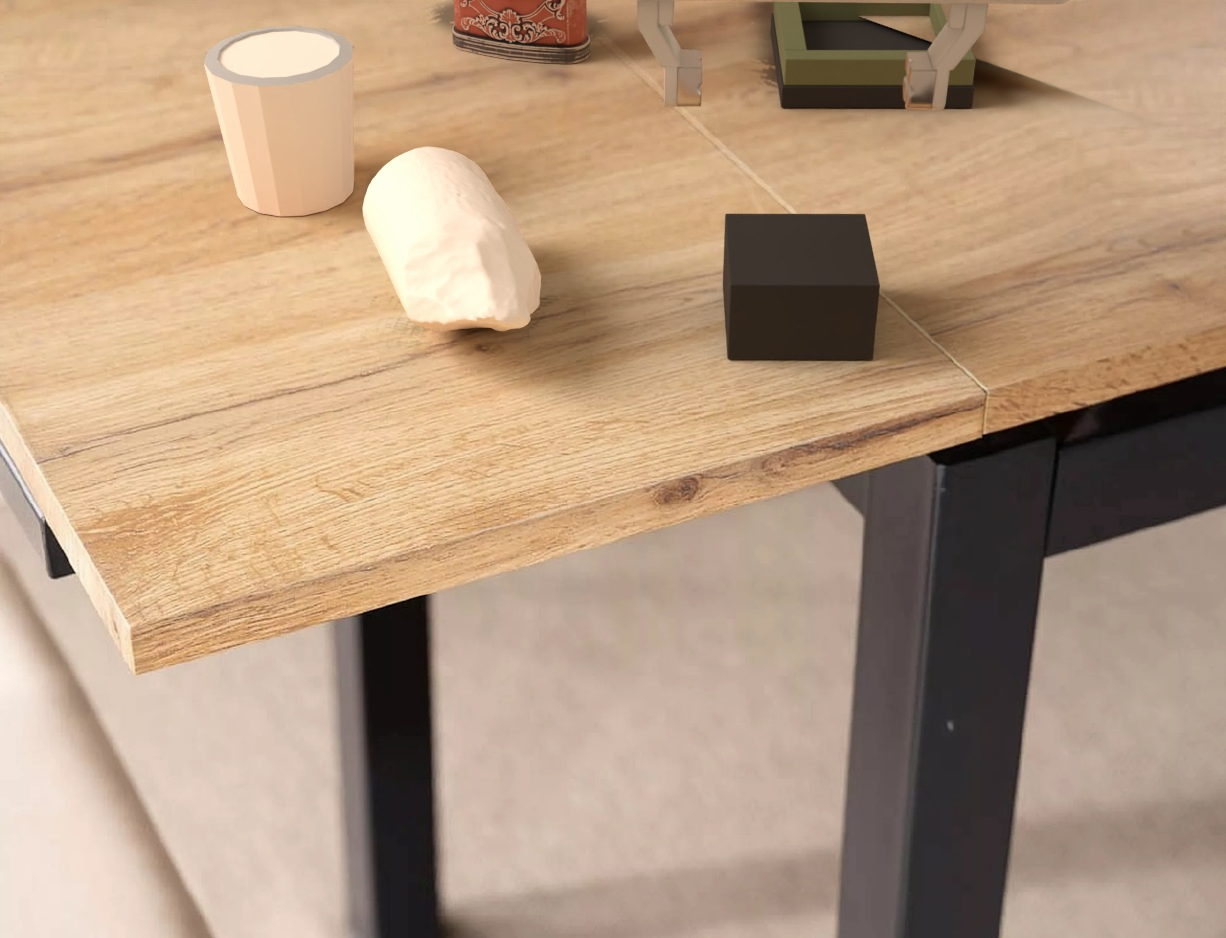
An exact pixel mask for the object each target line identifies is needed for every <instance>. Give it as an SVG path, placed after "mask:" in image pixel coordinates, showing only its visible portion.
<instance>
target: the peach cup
mask: <svg viewBox="0 0 1226 938" xmlns="http://www.w3.org/2000/svg"><path fill="white" fill-rule="evenodd" d="M203 66H204V69H205V74H206V78H207V82H208V84H209V85H208V86H209V89H210V92H211V98H212V101H213V106H214V110H215V113H216V117H217V120H218V124H219V128H220V132H221V136H222V140H223V144H224V148H225V152H226V155H227V156H226V157H227V159H228V163H229V168H230V171H231V175H232V179H233V183H234V187H235V190H236V195H237V197H238V199H239V200H240V202H241V204H243V206H244V207H246V208H248V209H250V210H251V211H255V212H256V213H258V214H263V215H269V216H274V217H302V216H308V215H313V214H316V213H321V212H325V211H328V210H330V209H333V208H334V207H336V206H338V205H340V204H342V203H344V202H345V201H346V200H347V199H348V198H349V197H350V196H351V195H352V194H353V193H354V187H355V110H354V109H355V104H354V103H355V97H354V96H355V93H354V92H355V90H354V85H355V84H354V82H355V80H354V78H355V77H354V74H355V73H354V69H355V67H354V45H353V44H352V43H351V42H350V41H349V40H348V39H347V38H346V37H345V36H344V35H341V34H339V33H336V32H333V31H331V30H328V29H325V28H319V27H313V26H312V27H311V26H305V25H284V26H283V25H281V26H267V27H262V28H257V29H256V28H255V29H252V30H246V31H242V32H240V33H237V34H235V35H232V36H230V37H226V38H224V39H222V40H220V41H218V42H217V43H216V44H215V45H214V46H212V47H211V48H210V49H209V50H207V51H206V54H205V58H204V61H203Z"/></svg>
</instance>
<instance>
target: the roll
mask: <svg viewBox="0 0 1226 938" xmlns="http://www.w3.org/2000/svg"><path fill="white" fill-rule="evenodd" d="M368 184H369V185H368V186H367V190H366V193H365V195H364V198H363V204H362V208H361V209H362V217H363V221H364V226H365V229H366V230H367V232H368V234H369V237H370V238H371V240H372V242H373V244H374V246H375V248H376V250H377V252H378V254H379V256H380V259H381V261H382V263H383V266H384V268H385V269H386V272H387V274H388V276H389V278H390V282H391V283H392V286H393V288H394V291H395V292H396V295H397V297H398V299H399V300H400V303H401V305H402V308H403V309H404V311H405V313H406V315H407V317H408V319H409V320H410V321H412V322H413V323H414V324H415V325H416V326H418V327H421V328H422V329H426V330H430V331H434V332H439V333H445V332H450V331H459V330H463V329H464V330H467V329H469V330H470V329H486V328H488V329H492V330H495V331H498V332H506V331H509V330H515V329H521V328H524V327H526V326H527V325H528V324H529V323H530V322H531V315H532V314H533V313H534V312H535V311H536V310H537V309H539V307H540V304H541V300H540V297H541V290H542V275H541V271H540V268H539V265H538V263H537V261H536V259H535V257H534V254H533V252H532V250H531V248H530V246H529V245H528V243H527V241H526V238H525V237H524V235H523V233H522V231H521V229H520V226H519V223H518V221H517V220H516V218H515V216H514V215H513V213H512V211H511V209H510V208H509V206H508V205H507V203H506V201H505V200H504V198H503V197H502V196H500V194H498V192H497V191H496V188H495V187H494V186H493V184H492V182H491V181H490V179H489V177H488V176H487V175H486V173H485V171H483V169H482V168H481V167H480V165H478V164H477V163H476V162H475V161H473V160H472V159H470V158H469V157H467V156H465V155H464V154H461V153H460V152H457V151H455V150H451V149H447V148H443V147H438V146H437V147H435V146H421V147H415V148H413V149H410V150H407V151H406V152H403V153H401V154H400V155H398V156H396V157H394V158H392V159H391V160H390V161H388V162H387V163H386V164H385V165H384V166H383V167H382V168H381V169H379V170H378V172H377V173H376V175H375V176H374V177H373V178H372V179H371V181H370V183H368Z"/></svg>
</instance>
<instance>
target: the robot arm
mask: <svg viewBox="0 0 1226 938" xmlns="http://www.w3.org/2000/svg"><path fill="white" fill-rule="evenodd" d="M675 1H677V2H678V1H680V2H681V1H682V2H683V1H685V2H693V1H694V2H763V3H765V2H766V3H767V2H769V3H770V2H771V3H774V2H853V3H941V6H942V9H943V11H944V14H945V17H946V20H947V23H946V24H945V26H944V27H943V29H942V30H941V31H940V33H939V34H938V36H937V37H936V36H935V39H933V41H932V42H933V43H932V44H931V46H930V47H929V49H928V50H927V51H928V52H906V61H905V71H906V74H907V75H906V76H905V77H904V79H903V100H904V101H905V107H906V108H905V110H930V111H931V110H933V111H934V110H935V111H937V110H938V111H941V110H942V111H943V110H944V109H945V108H944V107H945V104H946V96H947V88H948V80H949V72H950V70H954V68H955V67H956V66H957V65H958V63H959V62H960V61H961V60H962V58H963V57H964V56H965V54H966V53H967V52H968V51H969V49H970V48H972V47H973V46H974V45H975V43H976V42H977V41H978V40H979V38H980V37H981V35H982V34H983V33H984V31H985V30H986V25H987V24H986V23H987V17H988V16H987V15H988V9H989V5H1043V6H1048V5H1050V6H1056V5H1057V6H1059V5H1064V4H1067V3H1068V2H1069V1H1070V0H636V27H637V29H638V30H639V32H640V34H641V36H643V39H644V40H645V41H646V44H647V45H648V47H649V49H650V50H651V52H652V54H653V55H654V57H655V59H656V61H657V62H658V64H659V65H660V67H661V68H663V107H664V108H665V107H666V108H669V107H670V108H676V107H677V108H678V107H679V108H681V107H702V95H703V94H702V85H703V53H702V49H688V48H682V47H681V46H680V44H679V42H678V40H677V38H676V36H675V35H674V33H673V31H672V30H671V27H672V25H673V24H674V20H675V19H674V16H675V15H674V14H675Z"/></svg>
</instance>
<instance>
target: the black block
mask: <svg viewBox="0 0 1226 938" xmlns="http://www.w3.org/2000/svg"><path fill="white" fill-rule="evenodd" d="M869 230H870V229H869V225H868V221H867V217H866V213H725V214H724V236H723V237H724V241H723V267H722V295H723V297H722V298H723V311H724V312H723V313H724V326H725V342H726V343H725V344H726V357H727V360H765V361H766V360H769V361H770V360H772V361H773V360H778V361H779V360H781V361H783V360H786V361H787V360H788V361H789V360H791V361H794V360H795V361H796V360H799V361H804V360H805V361H806V360H807V361H811V360H813V361H814V360H815V361H818V360H819V361H872V360H873V359H874V351H875V341H876V330H877V320H878V310H879V301H880V300H879V299H880V291H881V284H880V280H879V274H878V269H877V264H876V259H875V255H874V250H873V244H872V240H871V236H870V231H869Z"/></svg>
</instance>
